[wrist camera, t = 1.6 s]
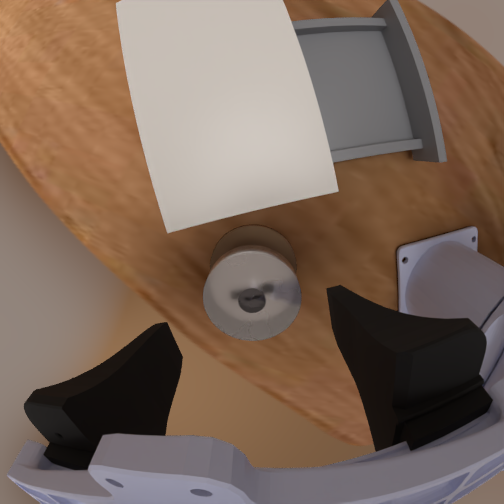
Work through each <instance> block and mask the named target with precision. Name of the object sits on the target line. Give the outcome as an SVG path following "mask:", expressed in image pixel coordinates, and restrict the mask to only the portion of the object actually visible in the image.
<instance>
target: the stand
mask: <svg viewBox="0 0 504 504" xmlns="http://www.w3.org/2000/svg"><path fill="white" fill-rule="evenodd" d="M246 245H259V246H264V247H267V248H270V249H273V250H275V251H277V252H278V253H280V254H281V255H283V256H284V257H285V258H286V259H287V260H288V261H289V263H290V264H291V265H292V267H293V269H294V271H295V273H296V270H297V264H296V258H295V255H294V252H293V249H292V247H291V245H290V244H289V242H288V241H287V240H286V239H285V238H284V237H283V236H282V235H281V234H280V233H278V232H277V231H275V230H273V229H271V228H269V227H266V226H262V225H245V226H241V227H238V228H235V229H233V230H231V231H230V232H228V233H227V234H226V235H224V236H223V237H222V238H221V239H220V241H219V242H218V244H217V245H216V247H215V249H214V251H213V254H212V257H211V262H210V271H211V269H212V267H213V265H214V264H215V262H216V261H217V260H218V259H219V258H220V257H221V256H222V255H223V254H225V253H226V252H228V251H230V250H232V249H234V248H237V247H240V246H246Z"/></svg>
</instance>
